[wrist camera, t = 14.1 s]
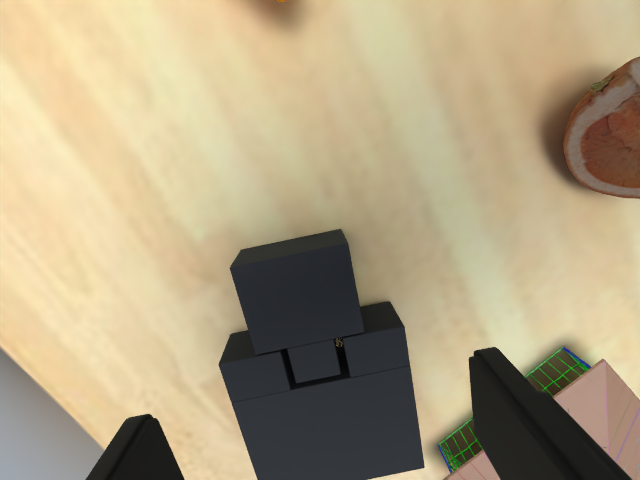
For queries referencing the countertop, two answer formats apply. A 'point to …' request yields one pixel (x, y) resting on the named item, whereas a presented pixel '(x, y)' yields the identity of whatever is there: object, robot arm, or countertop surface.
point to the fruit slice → (607, 134)
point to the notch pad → (329, 407)
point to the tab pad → (300, 300)
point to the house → (579, 420)
